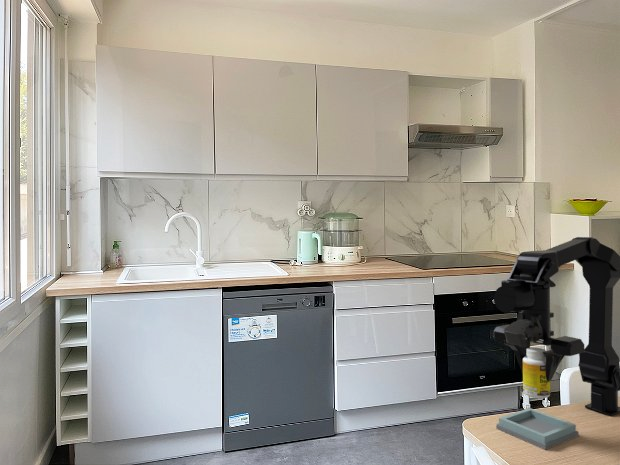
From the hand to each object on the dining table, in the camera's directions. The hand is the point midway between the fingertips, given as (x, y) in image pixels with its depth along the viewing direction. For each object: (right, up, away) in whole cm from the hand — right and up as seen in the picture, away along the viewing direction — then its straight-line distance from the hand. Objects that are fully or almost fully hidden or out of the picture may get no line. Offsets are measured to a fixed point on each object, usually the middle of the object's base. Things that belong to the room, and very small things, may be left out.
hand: (536, 377), depth 105 cm
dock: (0, -13, 0) cm, 13 cm away
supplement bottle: (0, -4, 0) cm, 4 cm away
